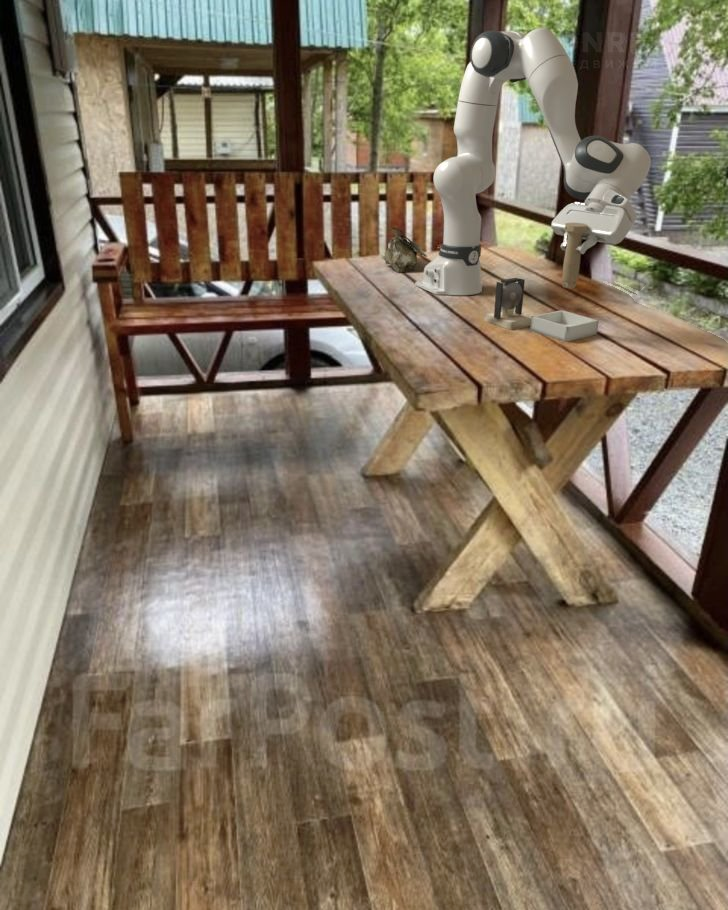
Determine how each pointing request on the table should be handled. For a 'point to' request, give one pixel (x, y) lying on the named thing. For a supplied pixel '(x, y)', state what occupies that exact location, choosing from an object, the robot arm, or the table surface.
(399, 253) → the hollow geode rock
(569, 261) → the handle
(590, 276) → the table surface
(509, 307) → the pulley block
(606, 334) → the table surface
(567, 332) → the tray
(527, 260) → the table surface
